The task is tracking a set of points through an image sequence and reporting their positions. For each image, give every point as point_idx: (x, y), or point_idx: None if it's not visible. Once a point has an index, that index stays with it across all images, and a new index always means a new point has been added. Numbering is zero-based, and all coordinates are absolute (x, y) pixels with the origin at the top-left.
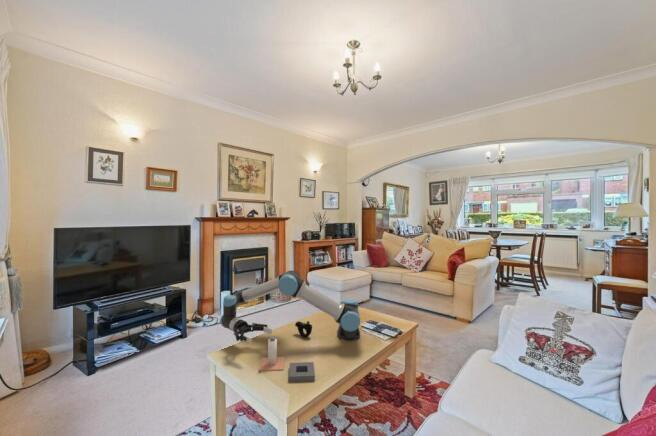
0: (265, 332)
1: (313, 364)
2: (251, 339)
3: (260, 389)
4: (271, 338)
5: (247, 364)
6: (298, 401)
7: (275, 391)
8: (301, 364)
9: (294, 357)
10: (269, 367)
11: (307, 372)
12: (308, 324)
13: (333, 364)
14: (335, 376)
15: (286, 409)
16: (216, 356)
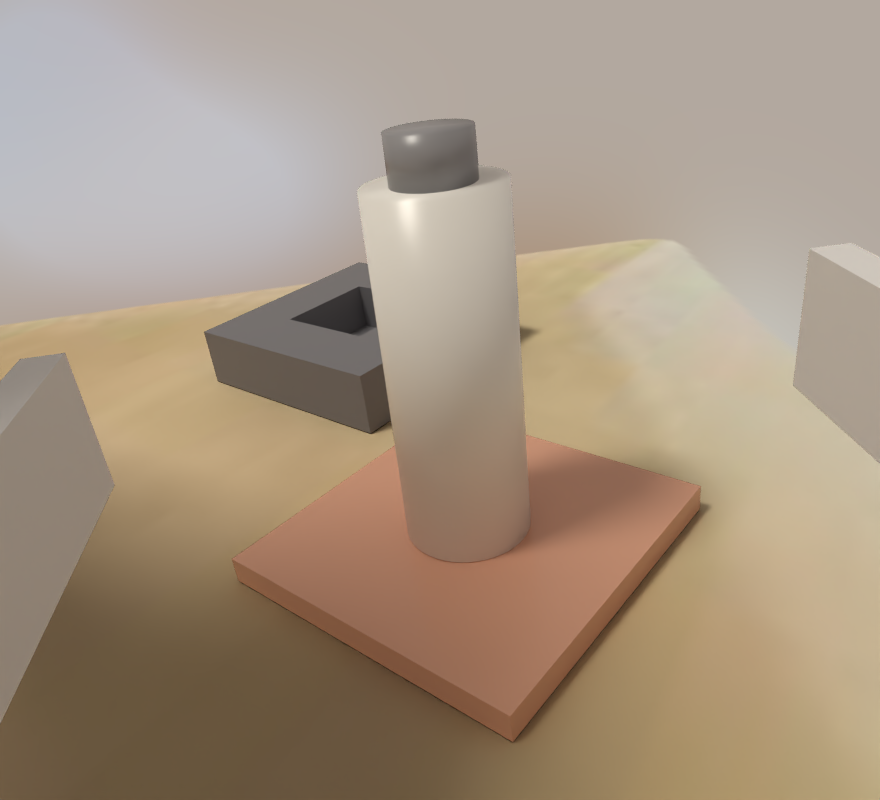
0: (13, 691)
1: (239, 317)
2: (810, 288)
3: (764, 352)
4: (468, 120)
5: (840, 746)
6: (568, 258)
7: (655, 318)
8: (305, 337)
9: (138, 546)
10: (555, 475)
11: (365, 283)
12: None
13: (82, 363)
14: (225, 304)
15: (660, 247)
16: None
